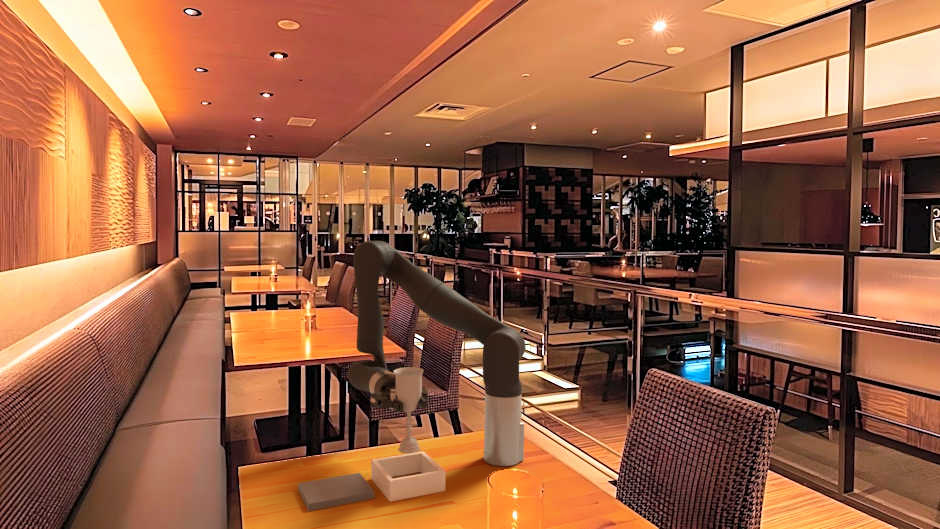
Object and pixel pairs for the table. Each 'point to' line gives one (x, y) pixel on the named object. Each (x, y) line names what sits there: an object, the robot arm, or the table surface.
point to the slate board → (335, 491)
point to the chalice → (409, 401)
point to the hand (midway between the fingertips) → (413, 406)
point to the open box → (408, 485)
